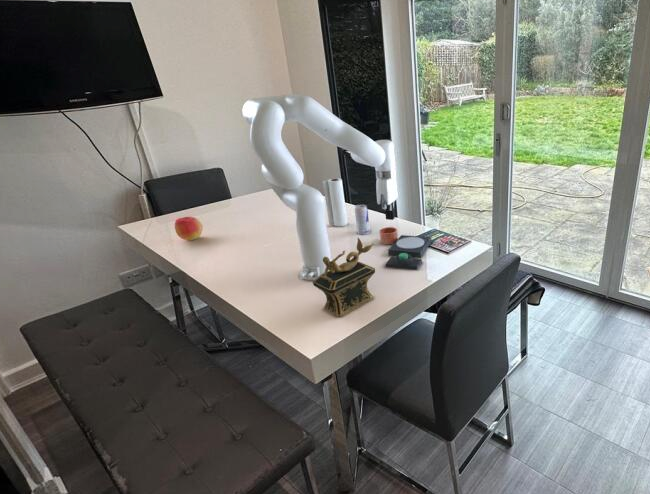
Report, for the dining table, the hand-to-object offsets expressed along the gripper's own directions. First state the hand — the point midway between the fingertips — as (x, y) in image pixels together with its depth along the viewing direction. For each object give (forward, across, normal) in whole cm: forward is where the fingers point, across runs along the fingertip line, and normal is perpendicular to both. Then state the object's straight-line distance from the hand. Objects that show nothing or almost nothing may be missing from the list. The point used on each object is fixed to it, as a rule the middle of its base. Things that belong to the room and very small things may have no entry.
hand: (390, 218), depth 161 cm
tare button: (+9, +15, +11) cm, 21 cm away
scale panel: (+12, +15, +11) cm, 22 cm away
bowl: (+12, -3, -3) cm, 13 cm away
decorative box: (+12, +42, +4) cm, 44 cm away
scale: (+12, +1, +8) cm, 14 cm away
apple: (+11, +12, -88) cm, 89 cm away
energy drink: (+12, -11, -18) cm, 24 cm away
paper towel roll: (+12, -17, -34) cm, 40 cm away
